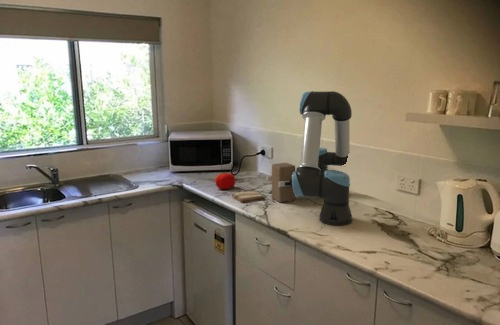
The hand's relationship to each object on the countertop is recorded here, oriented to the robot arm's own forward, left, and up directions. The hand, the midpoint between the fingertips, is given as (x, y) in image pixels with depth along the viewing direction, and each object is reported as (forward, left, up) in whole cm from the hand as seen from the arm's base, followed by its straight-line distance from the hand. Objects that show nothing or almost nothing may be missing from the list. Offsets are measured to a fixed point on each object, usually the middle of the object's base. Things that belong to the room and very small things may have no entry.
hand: (272, 181), depth 212 cm
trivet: (+11, +10, -11) cm, 18 cm away
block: (-1, -6, -11) cm, 13 cm away
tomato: (+36, +14, -11) cm, 40 cm away
